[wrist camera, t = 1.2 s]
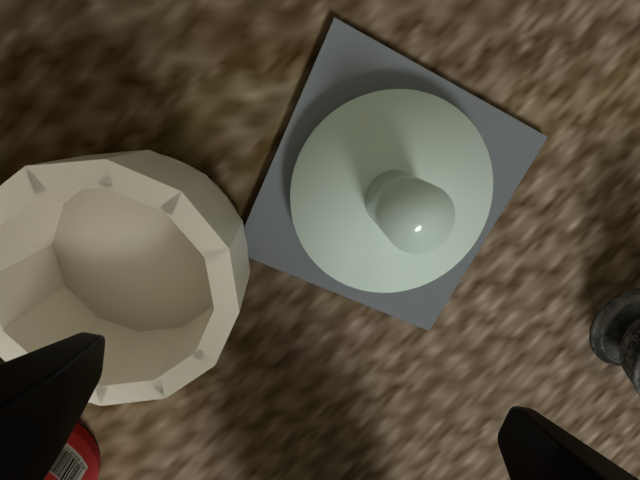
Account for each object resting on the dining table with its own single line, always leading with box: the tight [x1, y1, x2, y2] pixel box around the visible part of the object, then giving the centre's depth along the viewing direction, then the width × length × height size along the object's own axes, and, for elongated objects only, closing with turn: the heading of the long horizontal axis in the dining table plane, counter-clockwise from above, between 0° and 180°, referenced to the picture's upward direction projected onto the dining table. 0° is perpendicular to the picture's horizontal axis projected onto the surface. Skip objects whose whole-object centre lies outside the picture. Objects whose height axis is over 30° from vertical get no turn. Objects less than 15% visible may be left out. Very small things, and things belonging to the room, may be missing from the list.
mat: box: [244, 18, 547, 331], centre depth 20 cm, size 12×12×1 cm
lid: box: [290, 89, 493, 293], centre depth 17 cm, size 10×10×5 cm
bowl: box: [0, 150, 250, 406], centre depth 17 cm, size 10×10×5 cm
